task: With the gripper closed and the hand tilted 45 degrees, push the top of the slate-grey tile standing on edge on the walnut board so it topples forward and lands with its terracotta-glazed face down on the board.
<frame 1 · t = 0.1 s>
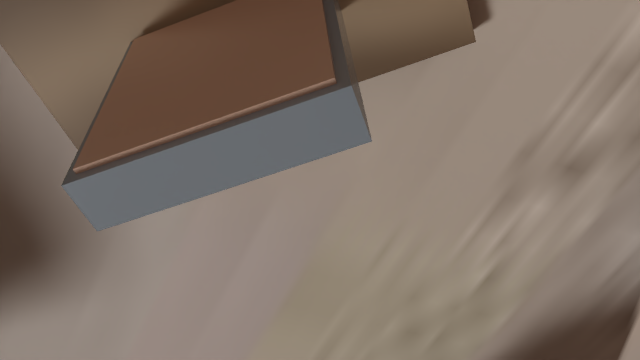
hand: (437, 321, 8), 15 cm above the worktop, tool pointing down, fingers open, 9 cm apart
tile: (235, 26, 20), point 1 cm above the worktop, touching board
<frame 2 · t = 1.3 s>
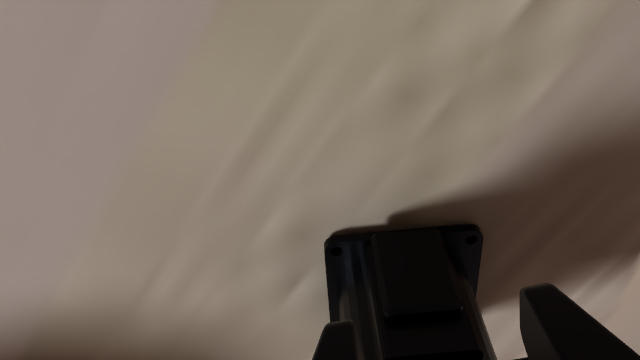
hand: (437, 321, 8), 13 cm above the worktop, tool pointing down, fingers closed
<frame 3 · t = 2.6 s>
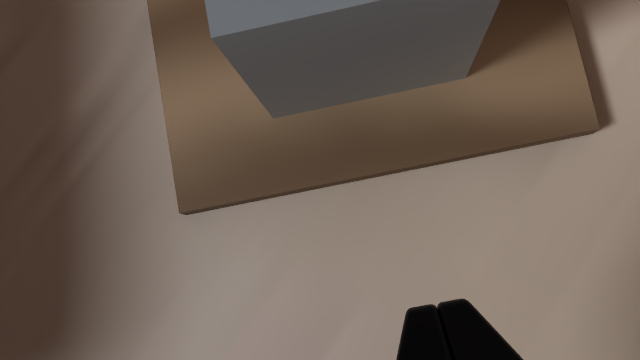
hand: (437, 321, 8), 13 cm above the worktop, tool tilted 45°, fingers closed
board: (349, 9, 23), on the worktop
tile: (364, 78, 22), point 1 cm above the worktop, touching board
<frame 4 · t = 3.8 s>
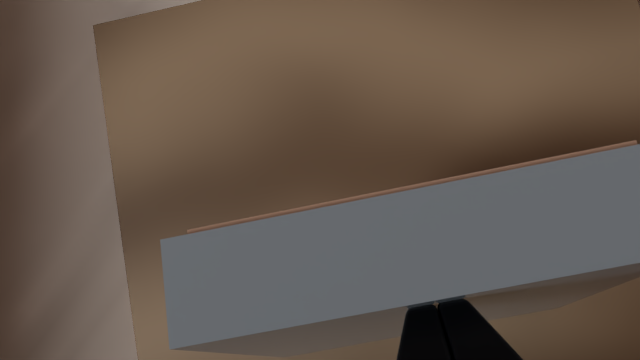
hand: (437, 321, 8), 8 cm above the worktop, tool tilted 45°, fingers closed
board: (389, 193, 17), on the worktop
tile: (412, 303, 15), point 1 cm above the worktop, tilted 9°, touching board
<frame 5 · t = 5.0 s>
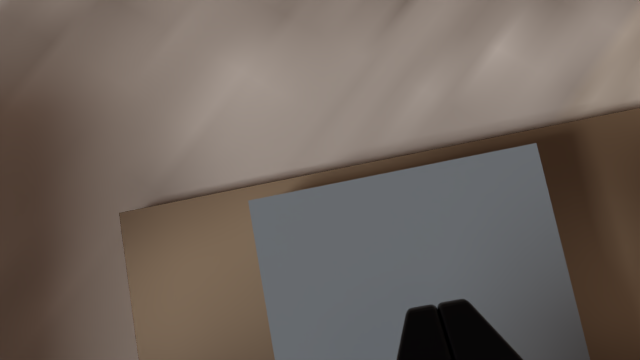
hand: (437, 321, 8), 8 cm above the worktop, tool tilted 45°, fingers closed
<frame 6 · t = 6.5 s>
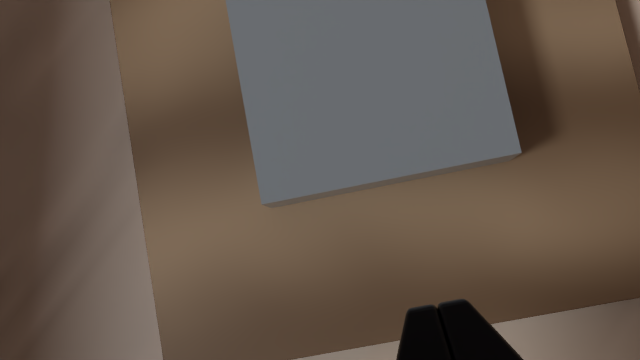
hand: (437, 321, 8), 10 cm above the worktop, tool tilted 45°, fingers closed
board: (375, 121, 19), on the worktop
tile: (389, 182, 17), point 2 cm above the worktop, tilted 90°, touching board
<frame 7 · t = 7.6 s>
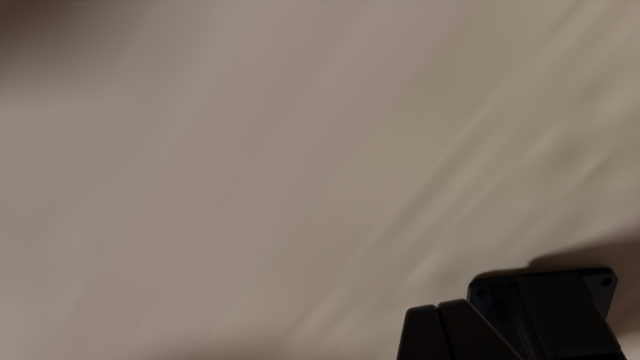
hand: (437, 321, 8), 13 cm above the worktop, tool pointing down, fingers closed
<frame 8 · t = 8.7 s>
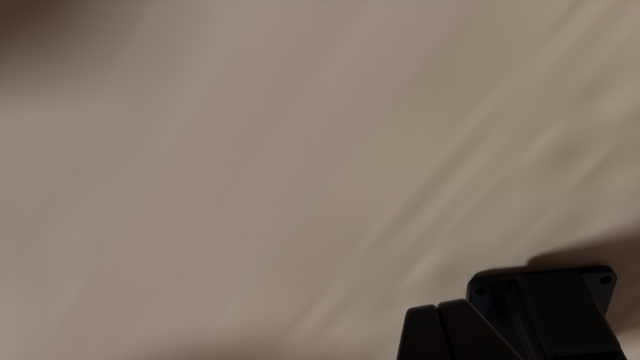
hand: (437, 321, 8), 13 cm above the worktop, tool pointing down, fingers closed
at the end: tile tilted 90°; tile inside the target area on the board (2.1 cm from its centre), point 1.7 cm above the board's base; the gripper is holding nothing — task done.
